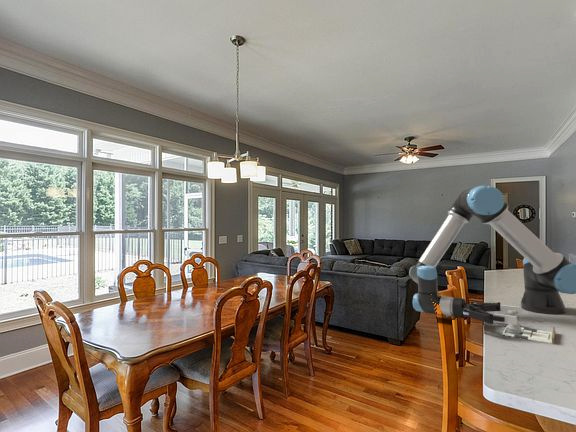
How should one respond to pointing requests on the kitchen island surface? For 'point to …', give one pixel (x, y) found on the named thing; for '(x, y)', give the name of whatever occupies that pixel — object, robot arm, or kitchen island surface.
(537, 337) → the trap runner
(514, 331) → the rook chess piece
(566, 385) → the kitchen island surface
